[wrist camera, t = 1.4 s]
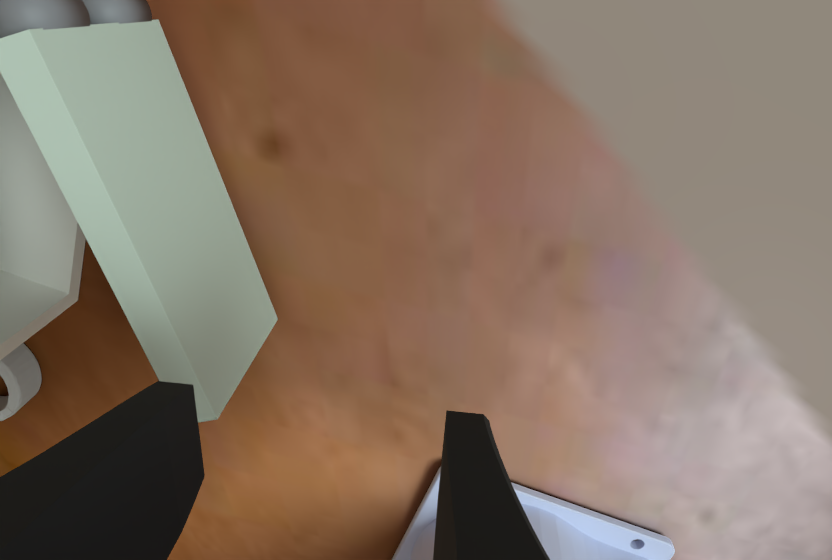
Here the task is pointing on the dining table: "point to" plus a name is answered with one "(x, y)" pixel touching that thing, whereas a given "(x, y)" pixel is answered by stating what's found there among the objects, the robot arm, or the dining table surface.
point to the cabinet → (32, 234)
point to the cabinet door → (140, 184)
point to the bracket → (19, 380)
